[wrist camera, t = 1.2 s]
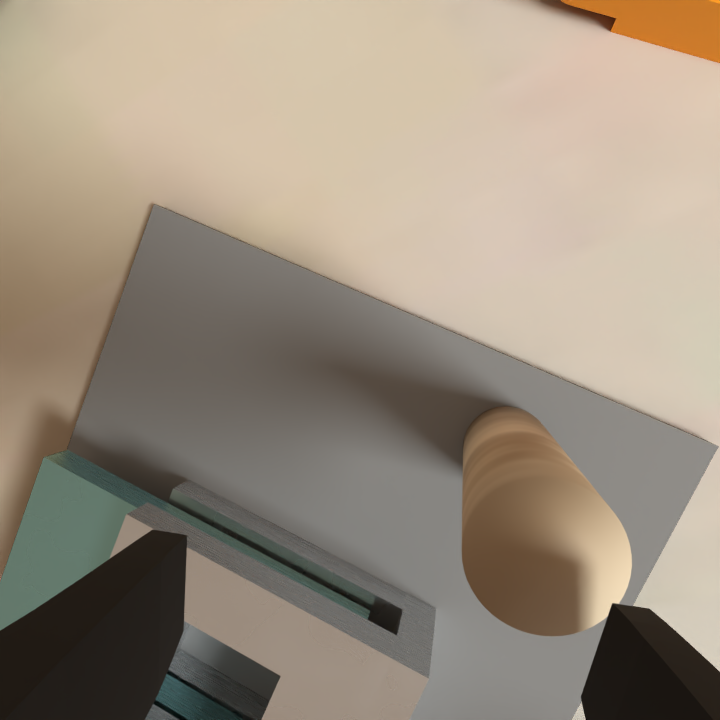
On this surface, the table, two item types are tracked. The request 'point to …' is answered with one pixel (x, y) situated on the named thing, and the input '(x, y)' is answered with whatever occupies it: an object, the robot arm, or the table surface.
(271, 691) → the rubber mat
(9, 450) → the table surface
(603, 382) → the table surface
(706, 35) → the bracket
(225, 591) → the peg hole fixture
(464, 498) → the maple pin
